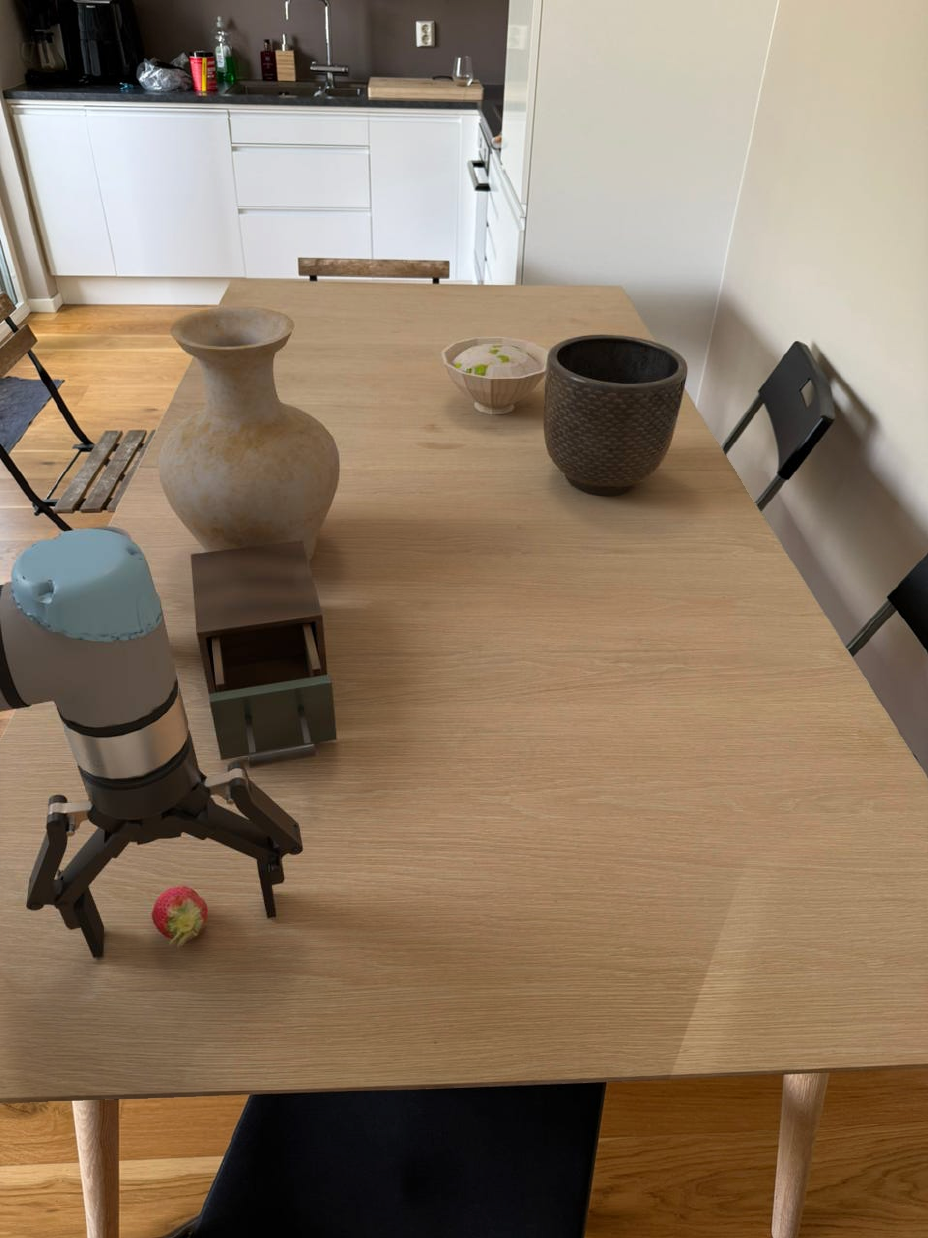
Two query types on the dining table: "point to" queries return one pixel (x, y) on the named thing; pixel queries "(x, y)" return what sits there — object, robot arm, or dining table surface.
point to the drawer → (270, 695)
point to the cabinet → (253, 595)
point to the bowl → (495, 370)
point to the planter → (611, 409)
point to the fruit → (180, 914)
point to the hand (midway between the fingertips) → (186, 923)
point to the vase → (246, 440)
